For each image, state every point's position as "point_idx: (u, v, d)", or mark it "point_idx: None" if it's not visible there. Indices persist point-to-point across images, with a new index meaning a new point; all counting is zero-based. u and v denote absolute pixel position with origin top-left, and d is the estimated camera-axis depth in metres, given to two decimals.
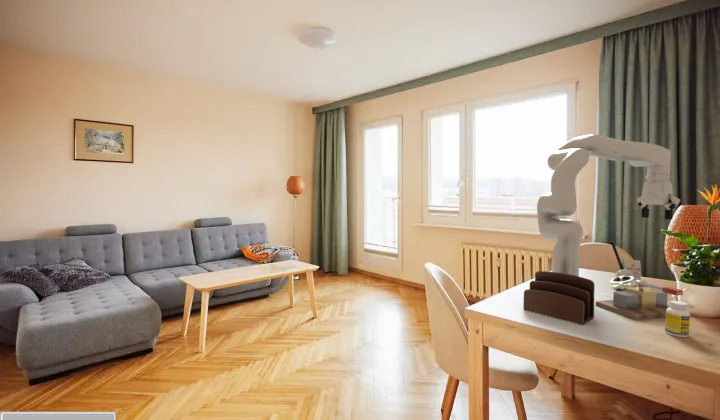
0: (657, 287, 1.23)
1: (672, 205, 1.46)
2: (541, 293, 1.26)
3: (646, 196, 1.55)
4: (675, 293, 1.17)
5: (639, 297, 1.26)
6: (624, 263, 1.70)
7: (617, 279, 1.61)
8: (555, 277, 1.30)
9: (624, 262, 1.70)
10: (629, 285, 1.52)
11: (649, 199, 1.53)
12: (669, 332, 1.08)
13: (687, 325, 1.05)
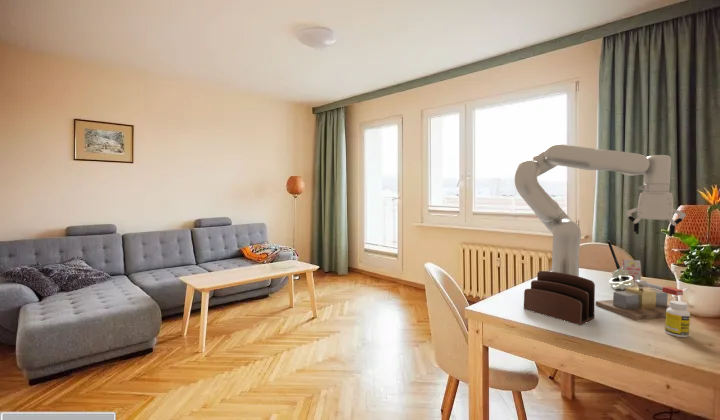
0: (657, 287, 1.23)
1: (679, 220, 1.28)
2: (540, 292, 1.26)
3: (646, 209, 1.32)
4: (675, 293, 1.17)
5: (639, 297, 1.26)
6: (624, 263, 1.70)
7: (615, 279, 1.61)
8: (557, 277, 1.30)
9: (624, 262, 1.70)
10: (629, 285, 1.52)
11: (651, 213, 1.31)
12: (669, 332, 1.08)
13: (687, 325, 1.05)
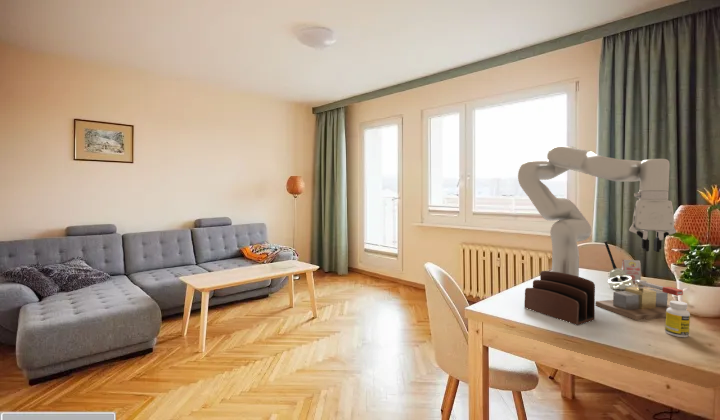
0: (657, 287, 1.23)
1: (665, 234, 1.18)
2: (540, 292, 1.27)
3: (646, 219, 1.18)
4: (675, 293, 1.17)
5: (639, 297, 1.26)
6: (624, 263, 1.70)
7: (614, 279, 1.61)
8: (559, 277, 1.30)
9: (624, 262, 1.70)
10: (630, 285, 1.51)
11: (651, 223, 1.17)
12: (669, 332, 1.08)
13: (687, 325, 1.05)
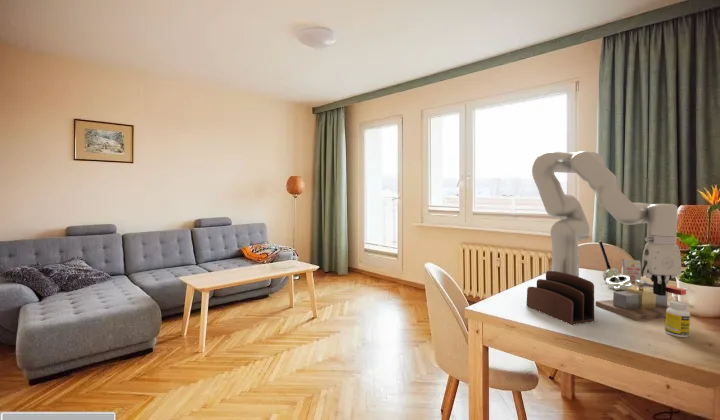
0: None
1: (669, 277, 1.20)
2: (540, 291, 1.28)
3: (660, 265, 1.17)
4: (679, 293, 1.17)
5: (639, 297, 1.26)
6: (624, 263, 1.70)
7: (611, 279, 1.60)
8: (562, 277, 1.30)
9: (624, 262, 1.70)
10: (631, 285, 1.51)
11: (664, 269, 1.17)
12: (669, 332, 1.08)
13: (687, 325, 1.05)
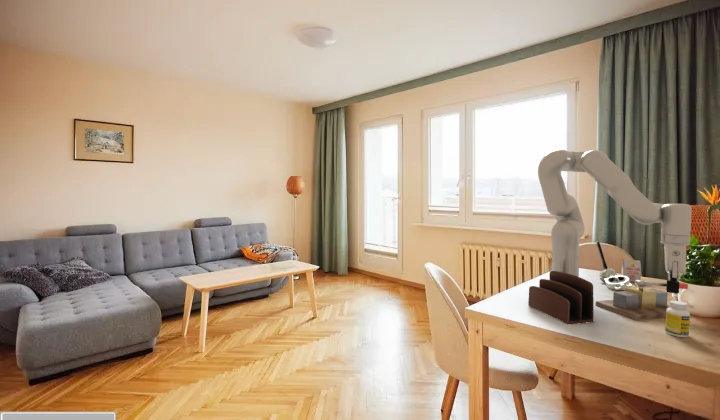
0: (664, 284, 1.26)
1: None
2: (540, 290, 1.29)
3: None
4: (686, 287, 1.24)
5: (639, 297, 1.26)
6: (624, 263, 1.70)
7: (610, 280, 1.60)
8: (564, 277, 1.29)
9: (624, 262, 1.70)
10: (631, 285, 1.51)
11: None
12: (669, 332, 1.08)
13: (687, 325, 1.05)
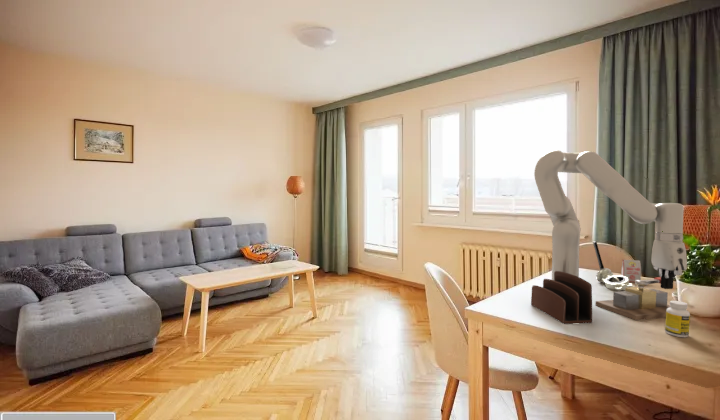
0: (656, 281, 1.30)
1: None
2: (541, 290, 1.30)
3: None
4: None
5: (639, 297, 1.26)
6: (624, 263, 1.70)
7: (609, 280, 1.60)
8: (566, 277, 1.29)
9: (624, 262, 1.70)
10: (631, 285, 1.51)
11: None
12: (669, 332, 1.08)
13: (687, 325, 1.05)
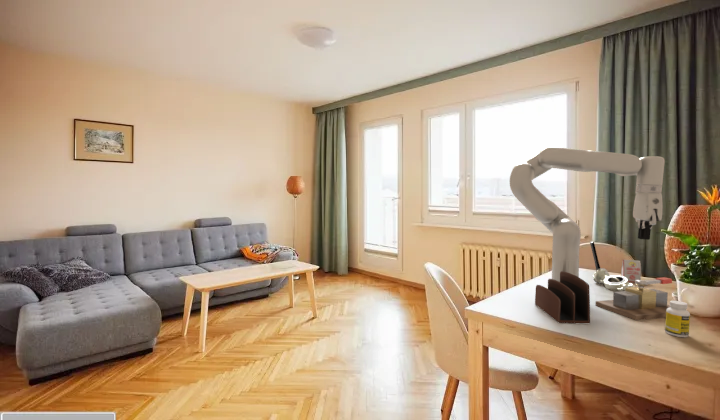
0: (657, 281, 1.30)
1: None
2: (542, 289, 1.31)
3: None
4: (671, 281, 1.31)
5: (639, 297, 1.26)
6: (624, 263, 1.70)
7: (608, 280, 1.59)
8: (569, 278, 1.28)
9: (624, 262, 1.70)
10: (632, 285, 1.51)
11: None
12: (669, 332, 1.08)
13: (687, 325, 1.05)
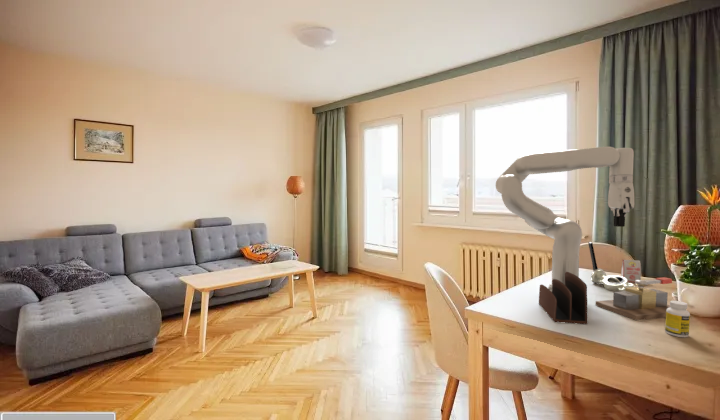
0: (657, 281, 1.30)
1: None
2: (544, 288, 1.31)
3: None
4: (671, 281, 1.31)
5: (639, 297, 1.26)
6: (624, 263, 1.70)
7: (607, 281, 1.58)
8: (571, 278, 1.28)
9: (624, 262, 1.70)
10: None
11: None
12: (669, 332, 1.08)
13: (687, 325, 1.05)
